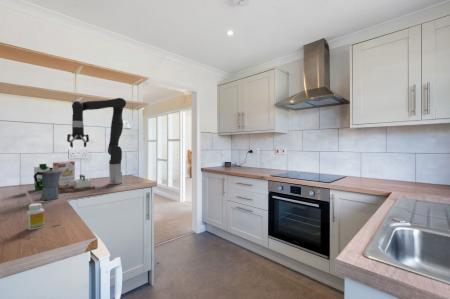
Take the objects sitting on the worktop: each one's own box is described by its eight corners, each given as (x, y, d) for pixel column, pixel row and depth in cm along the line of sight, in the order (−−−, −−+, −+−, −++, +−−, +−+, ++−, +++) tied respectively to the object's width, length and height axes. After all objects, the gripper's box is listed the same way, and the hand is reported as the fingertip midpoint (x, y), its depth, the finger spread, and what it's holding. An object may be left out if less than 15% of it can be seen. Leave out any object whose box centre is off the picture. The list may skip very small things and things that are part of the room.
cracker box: (59, 190, 161) (58, 162, 161) (52, 190, 162) (51, 162, 162) (75, 186, 175) (75, 161, 174) (69, 186, 176) (68, 160, 176)
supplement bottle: (47, 225, 92) (47, 202, 92) (34, 230, 87) (34, 206, 86) (37, 224, 93) (36, 202, 92) (23, 229, 87) (23, 206, 87)
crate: (87, 186, 168) (87, 173, 168) (91, 188, 161) (91, 175, 161) (73, 188, 162) (73, 174, 161) (77, 190, 154) (76, 176, 154)
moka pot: (67, 197, 140) (66, 166, 140) (40, 203, 126) (39, 169, 125) (57, 196, 143) (56, 166, 143) (29, 202, 129) (29, 168, 128)
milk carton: (36, 192, 155) (36, 164, 154) (33, 190, 160) (32, 164, 159) (52, 190, 162) (51, 163, 161) (47, 188, 167) (47, 163, 166)
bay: (90, 187, 171) (89, 176, 170) (95, 190, 161) (94, 178, 161) (53, 192, 154) (53, 180, 154) (56, 195, 145) (56, 182, 145)
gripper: (87, 127, 179) (87, 147, 179) (66, 126, 169) (66, 147, 169) (89, 127, 174) (89, 147, 174) (68, 126, 163) (68, 147, 164)
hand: (78, 147), depth 172 cm, fingers open, 8 cm apart
